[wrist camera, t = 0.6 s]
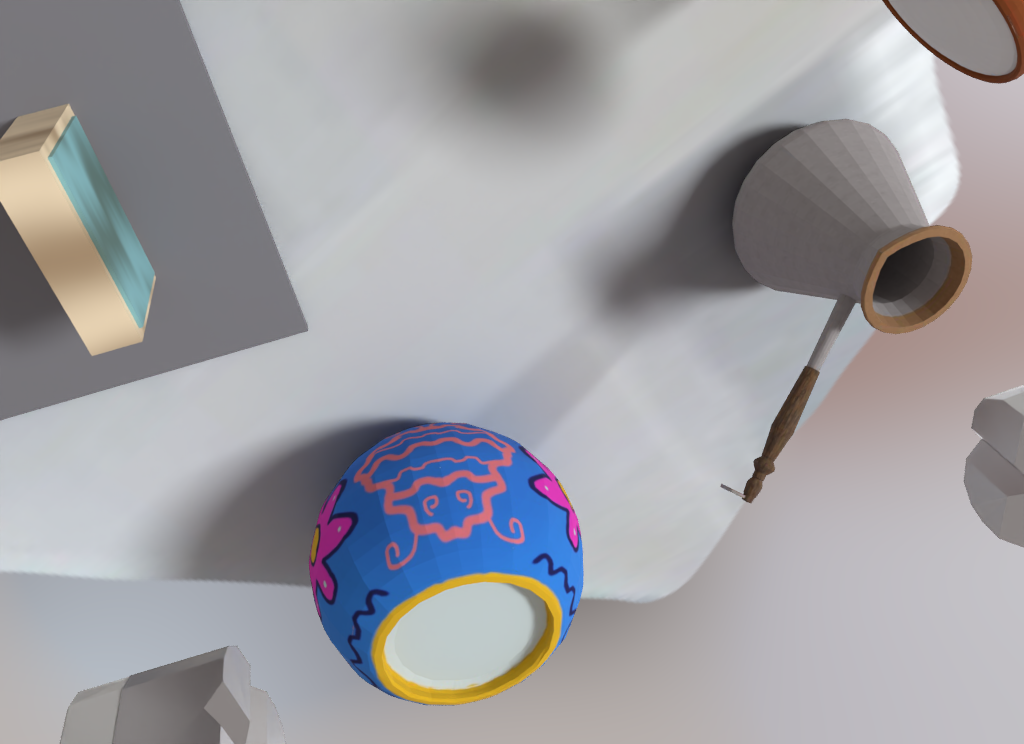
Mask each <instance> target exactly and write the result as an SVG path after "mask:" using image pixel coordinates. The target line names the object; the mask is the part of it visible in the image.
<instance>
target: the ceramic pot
mask: <svg viewBox="0 0 1024 744" xmlns="http://www.w3.org/2000/svg"><path fill="white" fill-rule="evenodd" d="M309 570H310V578H311V584H312V590H313V595H314V601H315V604H316V608H317V611H318V615H319V617H320V619H321V622H322V625H323V627H324V630H325V631H326V633H327V635H328V636H329V638H330V640H331V641H332V643H333V644H334V645H335V647H336V648H337V649H338V651H339V652H340V653H341V655H342V656H343V657H344V658H345V660H346V661H347V662H348V664H349V665H350V666H351V667H352V669H353V670H354V671H355V672H356V673H357V674H358V675H359V676H360V677H361V678H362V679H364V680H365V681H366V682H368V683H369V684H371V685H373V686H374V687H376V688H378V689H379V690H381V691H383V692H385V693H387V694H388V695H390V696H393V697H396V698H399V699H403V700H407V701H411V702H415V703H419V704H423V705H460V704H466V703H470V702H475V701H479V700H482V699H486V698H489V697H492V696H494V695H497V694H499V693H501V692H503V691H505V690H507V689H509V688H511V687H513V686H515V685H517V684H519V683H521V682H523V681H524V680H525V679H526V678H528V677H529V676H530V675H531V674H532V673H534V672H535V671H536V670H538V669H539V668H540V667H541V666H543V665H544V664H545V662H546V661H547V660H548V659H549V657H550V656H551V655H552V654H553V652H554V651H555V650H556V648H557V647H558V646H559V645H560V644H561V642H562V641H563V640H564V639H565V637H566V635H567V632H568V630H569V627H570V625H571V622H572V619H573V617H574V614H575V611H576V608H577V606H578V603H579V601H580V597H581V593H582V588H583V550H582V541H581V532H580V528H579V523H578V519H577V516H576V514H575V511H574V509H573V507H572V505H571V503H570V501H569V498H568V496H567V494H566V492H565V490H564V488H563V487H562V485H561V483H560V482H559V481H558V479H557V478H556V477H555V476H554V474H553V473H552V472H551V471H550V470H549V469H548V468H547V467H546V466H545V465H544V464H543V463H541V462H540V461H539V460H538V459H537V458H536V457H534V456H533V455H532V454H531V453H530V452H528V451H527V450H526V449H525V448H524V447H523V446H521V445H520V444H519V443H517V442H516V441H514V440H512V439H510V438H508V437H505V436H503V435H500V434H498V433H495V432H492V431H489V430H485V429H482V428H479V427H476V426H472V425H469V424H466V423H443V422H442V423H433V424H425V425H421V426H417V427H412V428H408V429H406V430H403V431H401V432H399V433H396V434H394V435H391V436H389V437H386V438H384V439H383V440H382V441H380V442H379V443H377V444H376V445H375V446H373V447H372V448H371V449H369V450H368V451H366V452H365V453H364V454H362V455H361V456H359V457H358V458H357V459H356V460H355V461H354V462H353V463H352V464H351V465H350V467H349V468H348V469H347V471H346V472H345V474H344V475H343V476H342V478H341V479H340V481H339V482H338V484H337V485H336V486H335V488H334V489H333V491H332V492H331V494H330V495H329V496H328V498H327V499H326V501H325V503H324V504H323V506H322V508H321V511H320V514H319V517H318V521H317V525H316V529H315V534H314V538H313V542H312V547H311V552H310V559H309Z"/></svg>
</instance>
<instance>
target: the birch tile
mask: <svg viewBox="0 0 1024 744" xmlns="http://www.w3.org/2000/svg"><path fill="white" fill-rule="evenodd" d="M0 202H1V203H2V205H3V207H4V208H5V210H6V212H7V214H8V215H9V217H10V219H11V220H12V222H13V224H14V225H15V227H16V229H17V230H18V232H19V234H20V235H21V237H22V239H23V241H24V242H25V244H26V246H27V247H28V249H29V251H30V252H31V254H32V256H33V257H34V259H35V261H36V263H37V264H38V266H39V268H40V269H41V271H42V273H43V274H44V276H45V278H46V279H47V281H48V283H49V284H50V286H51V288H52V290H53V291H54V293H55V295H56V296H57V298H58V300H59V301H60V303H61V305H62V306H63V308H64V310H65V312H66V313H67V315H68V317H69V318H70V320H71V322H72V323H73V325H74V327H75V328H76V330H77V332H78V333H79V335H80V337H81V339H82V340H83V342H84V344H85V345H86V347H87V349H88V350H89V352H90V354H91V355H92V356H94V355H98V354H101V353H105V352H108V351H112V350H115V349H118V348H122V347H125V346H129V345H132V344H136V343H139V342H142V341H143V337H144V332H145V327H146V323H147V318H148V313H149V308H150V304H151V299H152V294H153V289H154V285H155V280H156V276H155V272H154V270H153V268H152V266H151V264H150V262H149V260H148V258H147V256H146V254H145V252H144V250H143V248H142V246H141V244H140V242H139V240H138V238H137V236H136V234H135V232H134V230H133V228H132V226H131V224H130V222H129V220H128V218H127V216H126V214H125V212H124V210H123V208H122V206H121V204H120V202H119V200H118V198H117V196H116V194H115V192H114V190H113V188H112V186H111V184H110V182H109V180H108V178H107V176H106V174H105V172H104V170H103V168H102V166H101V164H100V162H99V160H98V158H97V156H96V154H95V152H94V150H93V148H92V146H91V144H90V142H89V140H88V138H87V136H86V134H85V132H84V130H83V128H82V126H81V124H80V122H79V120H78V118H77V116H75V115H74V113H73V111H72V109H71V107H70V105H69V104H65V105H61V106H58V107H54V108H50V109H46V110H42V111H38V112H34V113H30V114H27V115H23V116H19V117H17V118H16V119H15V121H14V122H13V123H12V125H11V126H10V127H9V129H8V130H7V131H6V133H5V134H4V135H3V137H2V138H1V139H0Z"/></svg>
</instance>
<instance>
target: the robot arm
mask: <svg viewBox="0 0 1024 744" xmlns="http://www.w3.org/2000/svg"><path fill="white" fill-rule="evenodd" d="M971 428H972V429H973V430H974V431H975V432H976V434H977V435H978V436H979V437H980V438H981V440H980V442H979V443H978V444H977V445H976V447H975V448H974V449H973V451H972V452H971V453H970V455H969V456H968V457H967V458H966V466H965V476H964V483H965V487H966V490H967V493H968V496H969V499H970V502H971V505H972V506H973V508H974V510H975V511H976V513H977V514H978V516H979V517H980V519H981V520H982V522H984V524H985V525H986V526H987V527H988V528H989V529H990V530H991V531H992V532H993V533H994V534H995V535H996V536H997V537H998V538H999V539H1002V540H1005V541H1008V542H1010V543H1013V544H1016V545H1019V546H1021V547H1024V385H1022V386H1019V387H1016V388H1013V389H1010V390H1007V391H1005V392H1002V393H999V394H996V395H993V396H990V397H987V398H984V399H983V400H982V401H981V403H980V404H979V405H978V406H977V408H976V409H975V411H974V417H973V423H972V427H971ZM60 744H286V741H285V736H284V730H283V726H282V723H281V720H280V718H279V715H278V712H277V710H276V707H275V705H274V703H273V702H272V700H271V698H270V697H269V695H268V693H267V692H266V691H263V690H261V689H258V688H255V687H252V686H250V664H249V663H248V661H247V660H246V658H245V657H244V655H243V654H242V652H241V651H240V650H239V648H238V646H227V647H224V648H221V649H218V650H214V651H211V652H208V653H204V654H201V655H197V656H194V657H191V658H187V659H184V660H181V661H178V662H174V663H171V664H167V665H164V666H161V667H157V668H154V669H151V670H147V671H144V672H141V673H137V674H134V675H131V676H130V677H127V678H124V679H120V680H117V681H114V682H110V683H107V684H104V685H101V686H97V687H94V688H91V689H87V690H84V691H81V692H78V694H77V695H76V697H75V698H74V700H73V701H72V703H71V704H70V706H69V708H68V710H67V713H66V718H65V722H64V727H63V731H62V736H61V740H60Z"/></svg>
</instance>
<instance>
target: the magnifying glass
mask: <svg viewBox="0 0 1024 744" xmlns="http://www.w3.org/2000/svg"><path fill="white" fill-rule="evenodd" d="M882 1H883V2H884V3H885V5H886V6H887V8H888V9H889V10H890V11H891V13H892V14H893V15H894V16H895V18H896V19H897V20H898V21H899V22H900V23H901V24H902V25H903V27H904V28H905V29H906V30H907V31H908V32H909V33H910V34H911V35H912V36H913V37H914V38H915V39H916V40H918V41H919V42H920V43H921V44H922V45H923V46H924V47H925V48H927V49H928V50H929V51H930V52H932V53H933V54H934V55H935V56H937V57H938V58H940V59H941V60H942V61H944V62H945V63H947V64H948V65H950V66H952V67H953V68H955V69H957V70H959V71H960V72H962V73H964V74H966V75H969V76H971V77H973V78H976V79H979V80H982V81H986V82H990V83H1006V82H1010V81H1012V80H1015V79H1017V78H1018V77H1020V76H1021V75H1022V74H1024V0H882Z"/></svg>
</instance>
